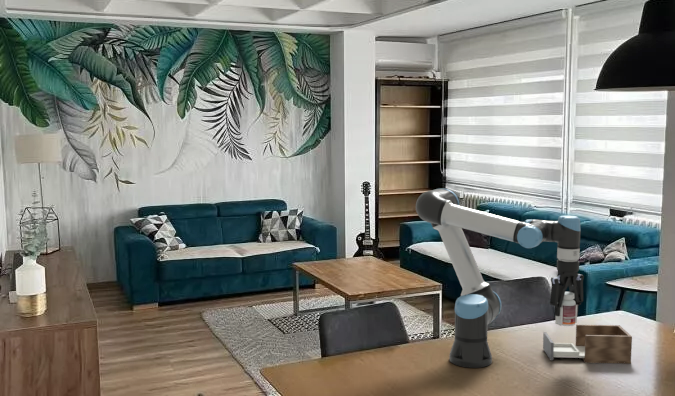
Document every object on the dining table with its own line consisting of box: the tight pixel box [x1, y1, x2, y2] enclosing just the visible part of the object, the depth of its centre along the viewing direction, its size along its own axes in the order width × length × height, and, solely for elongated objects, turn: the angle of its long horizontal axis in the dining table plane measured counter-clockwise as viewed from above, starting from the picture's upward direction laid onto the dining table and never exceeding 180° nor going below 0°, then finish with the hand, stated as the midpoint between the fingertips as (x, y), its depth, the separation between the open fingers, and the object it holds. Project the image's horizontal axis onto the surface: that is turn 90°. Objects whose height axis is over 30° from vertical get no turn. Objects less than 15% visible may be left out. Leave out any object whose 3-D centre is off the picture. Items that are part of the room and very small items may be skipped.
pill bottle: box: [561, 291, 576, 327], centre depth 254 cm, size 6×6×11 cm
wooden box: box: [575, 324, 633, 365], centre depth 263 cm, size 16×14×10 cm
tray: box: [542, 331, 585, 361], centre depth 264 cm, size 16×13×6 cm
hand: (566, 323), depth 255 cm, fingers closed on pill bottle, 6 cm apart
